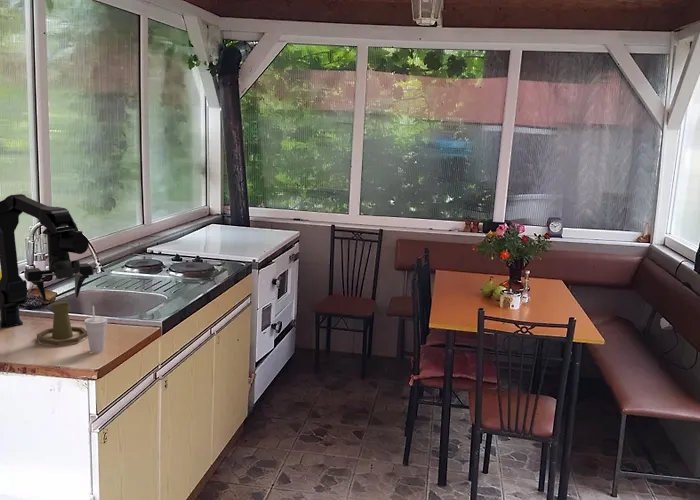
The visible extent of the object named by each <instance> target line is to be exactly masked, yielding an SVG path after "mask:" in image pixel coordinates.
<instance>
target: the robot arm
mask: <svg viewBox="0 0 700 500" xmlns="http://www.w3.org/2000/svg"><path fill="white" fill-rule="evenodd" d="M23 213H24V214H26V215H29V216H31V217H33V218H36V219H38V221H39V224H40V225H42V226H43V227H44V228H45V229H44V230H43V231H42V235H46V237H47V238H46V240H47V256H48V257H47V258H48V269H46V270H41V269H40V268H39V267H34V268H26V269H25V270H24V271H23V273H24V279H23V278H22V277H21V276H20V274H19V272H20V271H19V264H18V262H19V261H18V254H17V245H16V237H15V236H16V234H15V231H16V229H17V227H18V226H19V224H20V223H19V222H20V218H19V217H20V215H22V214H23ZM77 225H78V224H76V222H75V220H74V219H73V216H72V215H71V213H70V211H69V210H68V208H66V207H61V206H50V205H46V204H44V203H41V202H40V201H37V200H34V199H33V198H30V197H28V196H27V195H26V194H23V193H17V194H10V195H7V196H6V197H5V198H4V199H2V200H1V201H0V273H1V277H0V328H6V327H14V326H21V325H23V324H24V323H23V321H22V320H21V317H20V316H21V314H20V305H25V304H26V302H27V297H28V292H29V290H28V285H27V284H28V282H30V283H31V284H34V285H35V286H36V288H37V289H38V292H39V293H40V296H41V297H42V300H43V302H46V301H47V300H46V298H47V296H46V291H45V286H44V285H45V283H44V280H43V277H44V278H45V277H54V276H55V278H56V279H57V280H62V279H67V278H68V279H72V278H73V277H74V295H75V298H78V296H79V294H80V291H81V289H82V285H83V284H84V281H86V279H89V278H90V276H94V267H93V266H92V265H90V264H89V263H80V261H79V260H78V259H76V260H71V259H70V253H72V254H75V255H76V254H78V255H82V254H85V253H86V252H87V251H88V248H89V245H90V243H89V242H90V241H89V240H88V238H87V237H86V236H85V235H84V234H83V230H79V228H78V226H77Z"/></svg>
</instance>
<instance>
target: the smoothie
mask: <svg viewBox="0 0 700 500" xmlns="http://www.w3.org/2000/svg"><path fill="white" fill-rule="evenodd" d="M95 314H96V313H95V305H92V316H91V317H88V318H86V319H84V322H83V324H84V325H85V330H86V331H87V335H88V336H87V339H88V344H89V350H90V351H89V352H90V353H91V352H92V353H91V354H100V353H103V352H104V350H105V339H106V329H107V324H108V318H107V317H103V316H96V315H95ZM99 352H100V353H99Z"/></svg>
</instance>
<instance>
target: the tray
mask: <svg viewBox="0 0 700 500" xmlns="http://www.w3.org/2000/svg"><path fill="white" fill-rule="evenodd" d="M71 328H72V333H73V336H72V337H71V338H69V339H64V340H56V339H53V338H52V331H53V327H52V328H47V329H45V330H42V331H41V332H38V333H37V334H36V339H37V342H38V343H39V345H42V346H46V347H64V346H70V345H71V346H72V345H76V344H78V343H81V342H83V341H85V340H86V339H88V335H87V330H86V328H84V327H82V326H73V325H71Z"/></svg>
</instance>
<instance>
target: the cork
mask: <svg viewBox="0 0 700 500" xmlns="http://www.w3.org/2000/svg"><path fill="white" fill-rule="evenodd" d="M70 310H71V305H70V304H69V302H67V301H58V302H55V303H53V304H52V305H51V312H52V313H53V319H52V320H53V321H52V322H53V324H52V328H53V331H52V338H53V339H56V340H64V339H69V338H71V337H72V336H73V333H72V328H71V326H72V324H71V318H70V314H69V312H70Z"/></svg>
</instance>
